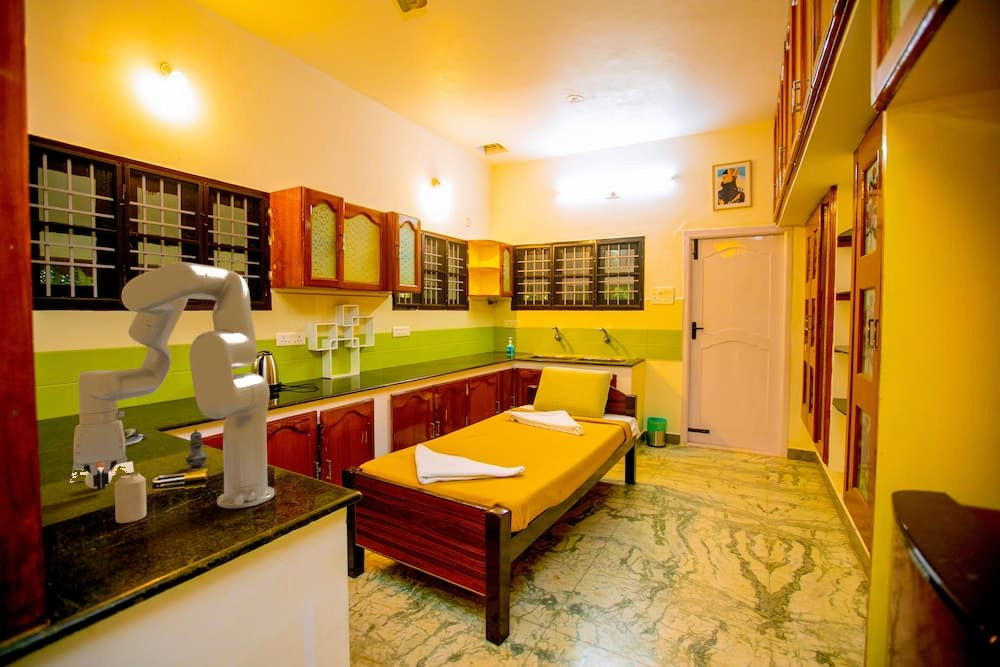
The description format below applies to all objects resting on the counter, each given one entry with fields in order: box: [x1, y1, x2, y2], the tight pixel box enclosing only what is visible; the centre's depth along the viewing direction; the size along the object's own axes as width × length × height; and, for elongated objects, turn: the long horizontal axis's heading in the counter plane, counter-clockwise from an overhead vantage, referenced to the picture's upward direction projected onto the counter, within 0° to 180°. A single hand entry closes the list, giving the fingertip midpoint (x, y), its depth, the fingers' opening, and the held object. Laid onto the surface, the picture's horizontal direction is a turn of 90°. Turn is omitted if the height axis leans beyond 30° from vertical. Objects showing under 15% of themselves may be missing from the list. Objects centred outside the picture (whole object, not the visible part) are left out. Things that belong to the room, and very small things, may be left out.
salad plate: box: [124, 427, 150, 447], centre depth 170 cm, size 19×18×5 cm
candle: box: [114, 472, 147, 524], centre depth 105 cm, size 6×6×10 cm
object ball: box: [96, 462, 115, 472], centre depth 134 cm, size 6×6×6 cm
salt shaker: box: [184, 429, 208, 471], centre depth 141 cm, size 6×6×12 cm
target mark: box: [69, 460, 135, 484], centre depth 138 cm, size 14×14×1 cm
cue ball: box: [84, 467, 113, 490], centre depth 124 cm, size 6×6×6 cm
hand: (101, 488), depth 120 cm, fingers closed
